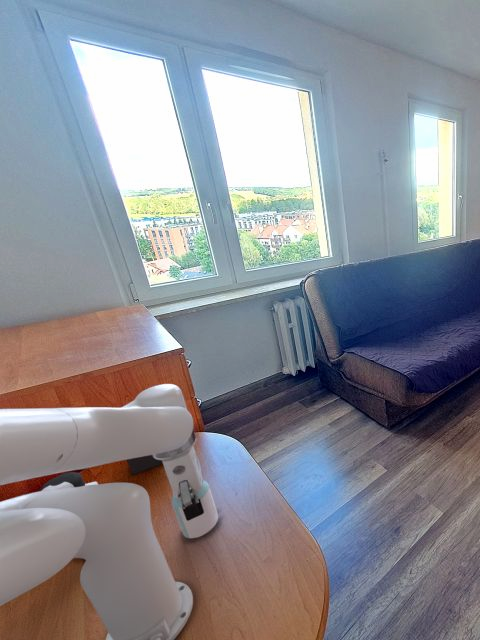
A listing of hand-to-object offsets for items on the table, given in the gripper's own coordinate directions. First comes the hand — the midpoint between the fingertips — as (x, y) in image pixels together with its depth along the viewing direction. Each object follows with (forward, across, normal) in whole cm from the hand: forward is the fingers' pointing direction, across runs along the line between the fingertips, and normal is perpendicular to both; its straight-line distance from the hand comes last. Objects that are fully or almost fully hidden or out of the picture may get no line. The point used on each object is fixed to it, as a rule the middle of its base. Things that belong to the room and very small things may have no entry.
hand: (194, 503), depth 75 cm
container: (+7, +18, +23) cm, 30 cm away
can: (+7, 0, 0) cm, 7 cm away
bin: (+7, +34, +9) cm, 36 cm away
